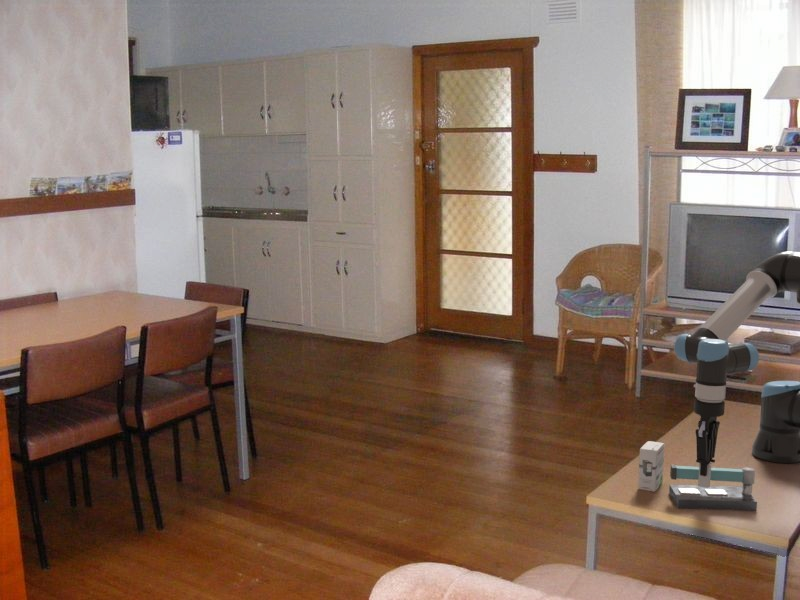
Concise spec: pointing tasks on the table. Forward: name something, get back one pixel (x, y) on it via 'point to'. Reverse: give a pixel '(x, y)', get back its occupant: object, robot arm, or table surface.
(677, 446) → the table surface
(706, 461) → the robot arm
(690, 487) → the plate
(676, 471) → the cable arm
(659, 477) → the ink box
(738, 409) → the table surface
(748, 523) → the table surface
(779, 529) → the table surface
